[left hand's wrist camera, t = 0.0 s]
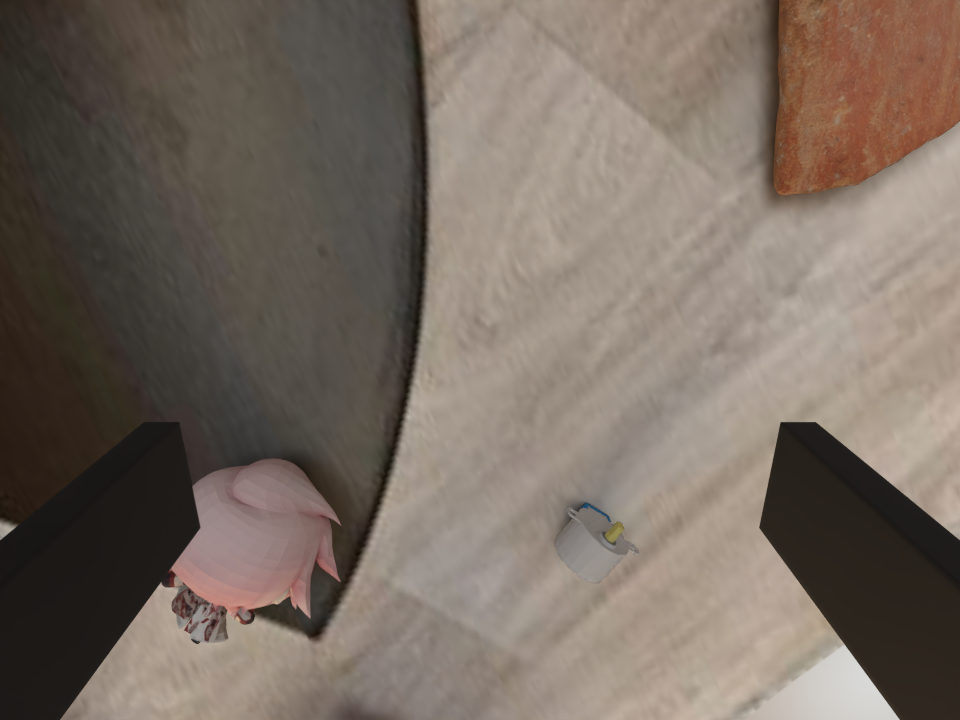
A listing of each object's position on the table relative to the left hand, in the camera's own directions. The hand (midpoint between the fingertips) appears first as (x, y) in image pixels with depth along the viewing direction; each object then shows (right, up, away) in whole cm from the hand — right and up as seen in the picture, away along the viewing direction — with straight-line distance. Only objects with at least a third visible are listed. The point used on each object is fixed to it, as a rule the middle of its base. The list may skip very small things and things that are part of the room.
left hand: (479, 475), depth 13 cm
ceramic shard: (+25, +21, +22) cm, 39 cm away
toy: (-16, -10, +34) cm, 39 cm away
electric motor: (+9, -10, +34) cm, 36 cm away
